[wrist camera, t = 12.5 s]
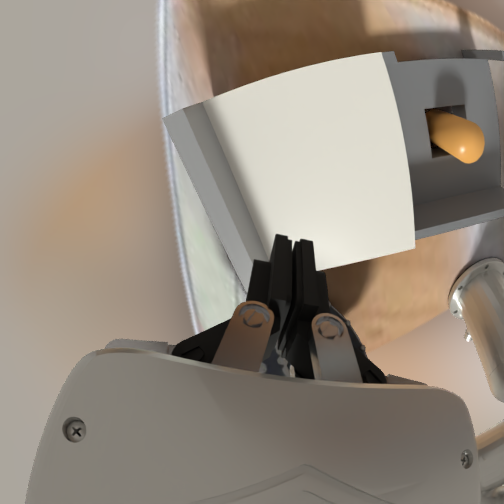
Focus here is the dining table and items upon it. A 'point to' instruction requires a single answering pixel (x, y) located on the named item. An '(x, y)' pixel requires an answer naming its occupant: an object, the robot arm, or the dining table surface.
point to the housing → (438, 160)
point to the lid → (302, 164)
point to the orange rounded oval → (455, 135)
